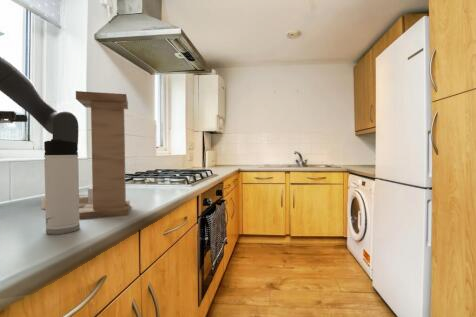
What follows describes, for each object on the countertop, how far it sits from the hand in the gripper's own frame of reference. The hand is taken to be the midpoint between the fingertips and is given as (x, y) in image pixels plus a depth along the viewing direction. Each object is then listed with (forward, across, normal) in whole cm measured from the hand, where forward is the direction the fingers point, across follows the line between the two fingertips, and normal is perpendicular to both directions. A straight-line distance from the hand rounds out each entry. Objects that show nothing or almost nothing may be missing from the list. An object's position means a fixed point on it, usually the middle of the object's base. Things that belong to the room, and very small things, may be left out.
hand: (21, 116), depth 83 cm
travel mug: (+17, -31, +28) cm, 45 cm away
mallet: (+14, 0, +29) cm, 32 cm away
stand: (+24, -13, +28) cm, 39 cm away
